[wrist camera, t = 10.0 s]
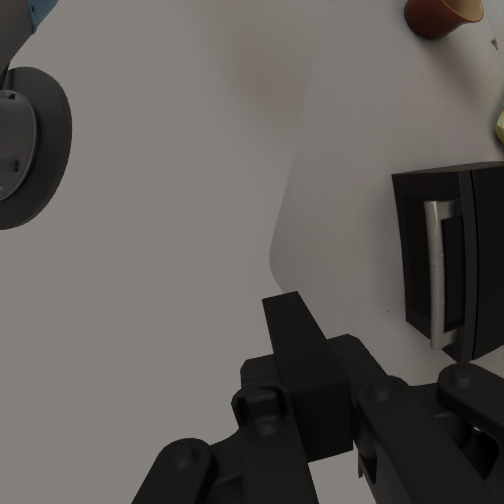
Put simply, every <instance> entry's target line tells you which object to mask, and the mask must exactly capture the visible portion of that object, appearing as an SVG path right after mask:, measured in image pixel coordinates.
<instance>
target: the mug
mask: <svg viewBox="0 0 504 504" xmlns="http://www.w3.org/2000/svg"><path fill="white" fill-rule="evenodd" d="M404 15H405V18H406V20H407V22H408V24H409V25H410V26H411V28H412V29H413V30H414V31H415V32H417V33H418V34H419V35H421V36H423V37H425V38H427V39H432V40H435V39H440V38H443V37H445V36H447V35H448V34H449V33H451V32H452V31H454V30H455V29H457V28H458V27H459V26H461V25H463V24H466V23H475V22H479V21H480V20H481V19H482V18H483V6H482V3H481V1H480V0H408V1H407V3H406V5H405V7H404Z"/></svg>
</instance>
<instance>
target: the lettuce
mask: <svg viewBox="0 0 504 504" xmlns="http://www.w3.org/2000/svg"><path fill="white" fill-rule="evenodd" d="M495 130H496V133H497V135H498V137H499V139H500V140H501V141H502V143H503V144H504V109H503V111H502V112H501V114H500V116H499V118H498V120H497V123H496V126H495Z"/></svg>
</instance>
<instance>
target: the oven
mask: <svg viewBox="0 0 504 504" xmlns="http://www.w3.org/2000/svg"><path fill="white" fill-rule="evenodd" d="M450 170H470V175H471V182H472V190H473V199H474V209H475V221H476V237H477V306H476V322H475V334H474V344H473V352H472V360H476V359H478V358H480V357H482V356H484V355H485V354H487V353H489V352H491V351H493V350H495V349H497V348H499V347H500V346H502V345H504V161H495V162H480V163H472V164H463V165H455V166H448V167H440V168H433V169H425V170H418V171H412V172H428V171H450ZM405 173H410V172H405Z"/></svg>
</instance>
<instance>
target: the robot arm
mask: <svg viewBox="0 0 504 504" xmlns="http://www.w3.org/2000/svg"><path fill="white" fill-rule="evenodd" d="M57 2H58V0H0V202H1V201H4V200H7V199H9V198H11V197H12V196H14V195H15V194H16V193H17V192H18V191H19V190H20V189H21V188H22V187H23V185H24V184H25V183H26V181H27V179H28V178H29V176H30V174H31V172H32V170H33V167H34V165H35V162H36V159H37V156H38V151H39V146H40V137H41V127H40V119H39V115H38V112H37V109H36V107H35V105H34V103H33V102H32V101H31V100H30V99H29V98H28V97H27V96H26V95H24V94H21V93H19V92H16V91H13V90H2V89H3V85H4V81H5V77H6V74H7V70H8V67H9V64H10V61H11V59H12V58H13V57H14V56H15V54H16V53H17V52H18V50H19V49H20V48H21V47H22V45H23V44H24V43H25V42H26V41H27V39H28V38H29V37H30V36H31V35H32V34H34V33H35V32H36V30H37V27H38V26H39V24H40V23H41V22H42V21H43V19H44V18H45V17H46V16H47V15H48V14H49V12H50V11H51V10H52V9H53V8H54V7H55V5H56V4H57ZM262 303H263V307H264V311H265V316H266V321H267V325H268V330H269V334H270V339H271V343H272V348H273V352H274V354H271V355H266V356H262V357H257V358H253V359H248V360H246V361H245V362H244V364H243V366H242V367H241V369H240V373H241V387H242V388H241V389H240V390H239V391H238V392H237V393H236V394H235V395H234V396H233V398H232V401H231V405H232V409H233V412H234V414H235V417H236V420H237V423H238V426H239V429H238V430H237V431H236V433H234V434H233V435H232V436H230V437H229V438H227V439H225V440H223V441H220V442H217V443H215V444H213V445H208V444H207V443H206V442H204V441H203V440H200V439H195V438H185V439H180V440H177V441H174V442H172V443H170V444H169V445H167V446H166V447H164V448H163V450H162V451H161V452H160V453H159V454H158V456H157V458H156V460H155V462H154V464H153V466H152V467H151V469H150V471H149V473H148V475H147V476H146V478H145V480H144V482H143V483H142V485H141V487H140V489H139V491H138V493H137V494H136V496H135V498H134V500H133V502H132V503H131V504H319V502H318V498H317V494H316V491H315V487H314V484H313V480H312V477H311V473H310V470H309V466H308V463H309V462H313V461H316V460H321V459H324V458H328V457H332V456H335V455H338V454H342V453H345V452H348V451H351V450H353V440H354V442H355V444H356V447H357V448H358V474H359V478H360V477H362V476H363V473H364V476H365V478H366V480H367V483H368V485H369V487H370V489H371V492H372V494H373V496H374V499H375V501H376V503H377V504H504V378H502V377H500V376H498V375H496V374H494V373H492V372H490V371H488V370H486V369H484V368H482V367H480V366H478V365H475V364H471V363H456V364H451V365H449V366H447V367H445V368H444V369H443V370H442V371H441V372H440V374H439V377H438V382H437V383H432V384H426V385H420V386H409V385H408V384H407V383H406V382H405V381H403V380H402V379H401V378H398V377H395V376H388V375H387V374H386V373H385V371H384V370H383V369H382V368H381V366H380V365H379V364H378V363H377V361H376V360H375V359H374V357H373V356H372V355H371V354H370V352H369V351H368V350H367V349H366V348H365V346H364V345H363V344H362V342H361V341H360V340H359V339H358V338H356V337H354V336H352V335H349V334H345V335H342V336H338V337H334V338H331V339H326V338H325V336H324V334H323V333H322V331H321V329H320V328H319V326H318V325H317V323H316V321H315V320H314V318H313V316H312V315H311V313H310V311H309V310H308V308H307V306H306V305H305V303H304V301H303V300H302V298H301V296H300V295H299V293H298V292H297V291H295V292H290V293H286V294H282V295H277V296H273V297H269V298H265V299H262ZM474 427H476V428H478V429H479V430H481V431H478V430H476V429H474Z"/></svg>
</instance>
